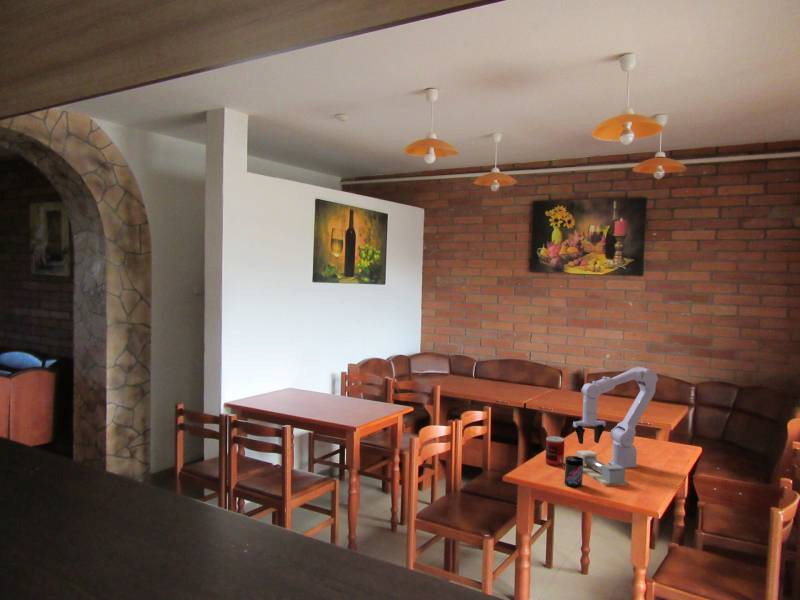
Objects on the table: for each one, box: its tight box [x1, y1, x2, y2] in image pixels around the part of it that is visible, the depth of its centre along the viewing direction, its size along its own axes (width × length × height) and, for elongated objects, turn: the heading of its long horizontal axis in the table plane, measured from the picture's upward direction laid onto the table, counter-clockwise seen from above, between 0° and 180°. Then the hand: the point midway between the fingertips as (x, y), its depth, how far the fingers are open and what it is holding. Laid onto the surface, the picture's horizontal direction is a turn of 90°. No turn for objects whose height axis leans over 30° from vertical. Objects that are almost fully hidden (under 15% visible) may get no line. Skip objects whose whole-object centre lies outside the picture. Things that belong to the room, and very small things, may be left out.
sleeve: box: [575, 450, 598, 467], centre depth 246 cm, size 5×7×5 cm
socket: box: [602, 464, 626, 483], centre depth 227 cm, size 5×7×5 cm
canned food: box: [545, 435, 565, 467], centre depth 249 cm, size 8×8×11 cm
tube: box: [584, 456, 606, 474], centre depth 236 cm, size 19×4×4 cm, turn 14°
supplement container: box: [564, 455, 584, 489], centre depth 224 cm, size 7×7×10 cm
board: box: [583, 464, 630, 487], centre depth 237 cm, size 27×10×1 cm, turn 14°
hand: (588, 442), depth 248 cm, fingers open, 7 cm apart
